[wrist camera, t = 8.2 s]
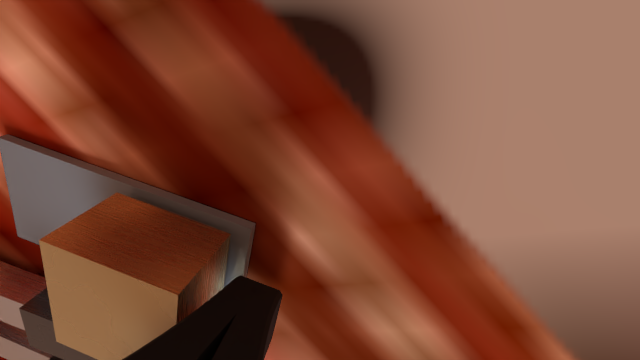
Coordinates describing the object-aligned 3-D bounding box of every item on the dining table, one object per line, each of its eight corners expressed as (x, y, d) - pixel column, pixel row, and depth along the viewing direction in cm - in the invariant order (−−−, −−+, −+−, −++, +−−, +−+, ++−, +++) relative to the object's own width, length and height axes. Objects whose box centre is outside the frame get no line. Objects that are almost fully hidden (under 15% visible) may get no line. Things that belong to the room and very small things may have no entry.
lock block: (218, 322, 12) (172, 391, 10) (120, 282, 12) (56, 341, 10) (230, 233, 10) (177, 295, 8) (117, 192, 11) (38, 240, 8)
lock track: (239, 316, 12) (235, 323, 12) (26, 231, 13) (17, 236, 13) (255, 223, 10) (251, 229, 10) (7, 134, 12) (-3, 137, 11)
